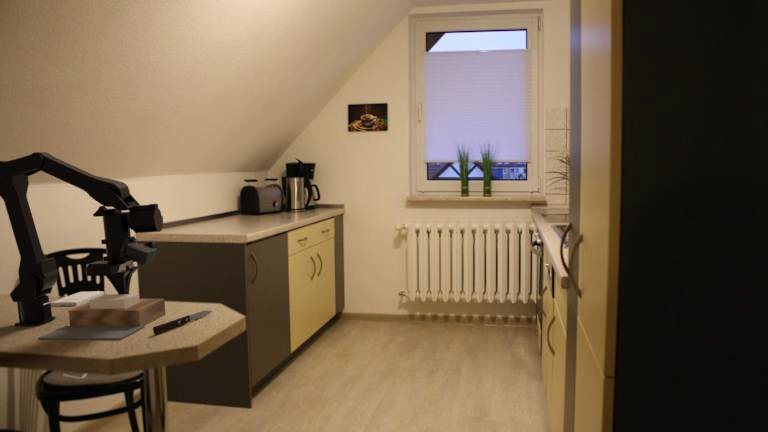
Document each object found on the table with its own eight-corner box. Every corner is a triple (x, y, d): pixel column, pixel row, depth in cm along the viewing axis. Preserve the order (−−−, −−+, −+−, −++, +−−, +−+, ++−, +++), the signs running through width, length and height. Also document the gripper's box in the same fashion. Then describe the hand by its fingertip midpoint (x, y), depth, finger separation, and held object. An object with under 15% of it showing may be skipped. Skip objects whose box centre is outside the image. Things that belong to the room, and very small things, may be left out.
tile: (90, 308, 145) (89, 300, 144) (105, 302, 150) (105, 294, 150) (124, 308, 143) (124, 300, 143) (139, 302, 149) (138, 294, 149)
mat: (38, 339, 136) (38, 337, 136) (66, 327, 145) (66, 325, 145) (121, 339, 132) (120, 337, 132) (144, 327, 141) (144, 325, 141)
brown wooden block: (70, 327, 144) (68, 310, 144) (99, 314, 155) (98, 299, 155) (140, 327, 141) (138, 310, 141) (165, 314, 152) (164, 298, 152)
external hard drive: (104, 296, 179) (76, 307, 167) (79, 297, 180) (49, 308, 168) (104, 291, 179) (76, 301, 166) (78, 291, 180) (49, 302, 168)
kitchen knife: (156, 336, 134) (155, 327, 134) (152, 335, 135) (152, 326, 134) (214, 314, 150) (213, 306, 150) (211, 314, 151) (210, 306, 150)
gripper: (125, 239, 138) (132, 307, 140) (168, 227, 156) (173, 288, 158) (80, 240, 140) (88, 307, 142) (128, 229, 158) (133, 288, 160)
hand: (124, 297), depth 150 cm, fingers closed
